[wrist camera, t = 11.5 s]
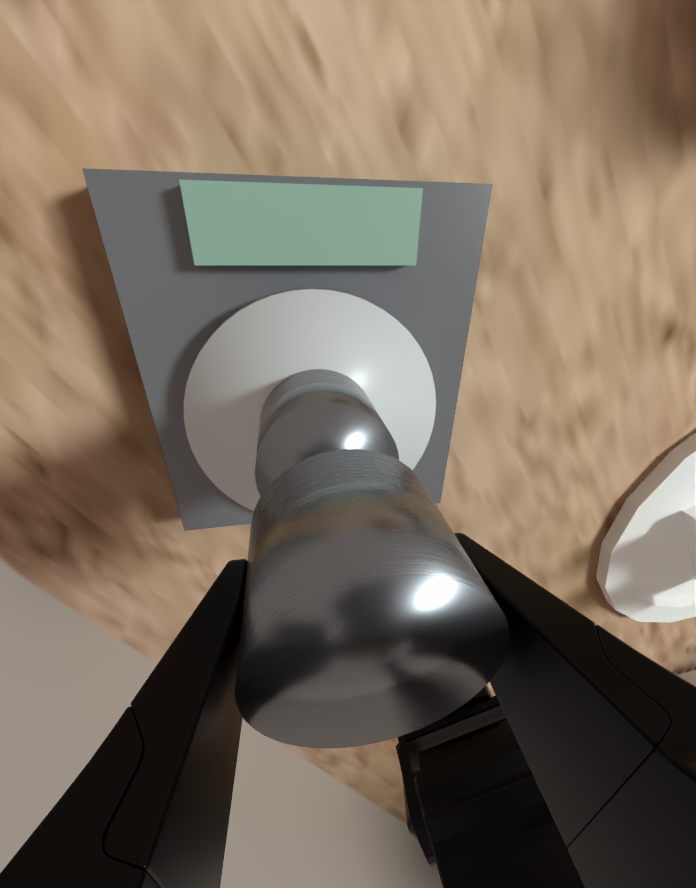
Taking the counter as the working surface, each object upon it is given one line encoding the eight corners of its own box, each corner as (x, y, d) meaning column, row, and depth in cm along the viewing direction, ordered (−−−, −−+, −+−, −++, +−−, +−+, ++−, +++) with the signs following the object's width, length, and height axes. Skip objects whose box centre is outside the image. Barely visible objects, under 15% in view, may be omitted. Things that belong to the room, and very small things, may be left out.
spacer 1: (371, 466, 17) (394, 521, 14) (266, 476, 17) (263, 536, 13) (375, 366, 15) (404, 401, 11) (253, 372, 14) (245, 412, 11)
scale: (427, 483, 22) (447, 514, 20) (192, 506, 20) (179, 544, 18) (467, 191, 15) (507, 179, 12) (108, 179, 13) (65, 161, 10)
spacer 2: (420, 578, 11) (481, 720, 8) (261, 600, 11) (254, 768, 7) (440, 441, 9) (540, 559, 6) (238, 457, 8) (209, 605, 5)
